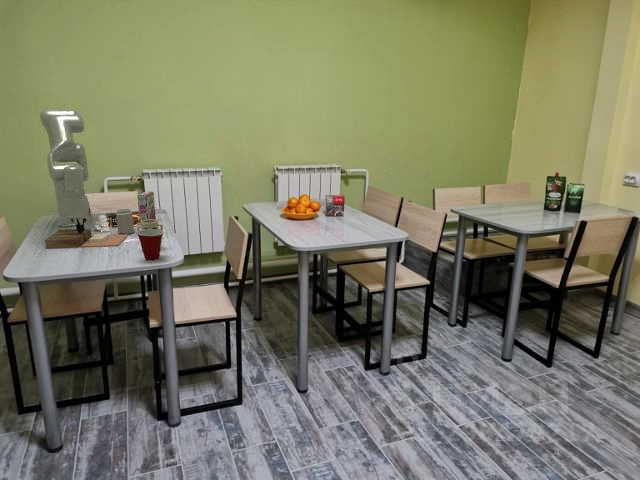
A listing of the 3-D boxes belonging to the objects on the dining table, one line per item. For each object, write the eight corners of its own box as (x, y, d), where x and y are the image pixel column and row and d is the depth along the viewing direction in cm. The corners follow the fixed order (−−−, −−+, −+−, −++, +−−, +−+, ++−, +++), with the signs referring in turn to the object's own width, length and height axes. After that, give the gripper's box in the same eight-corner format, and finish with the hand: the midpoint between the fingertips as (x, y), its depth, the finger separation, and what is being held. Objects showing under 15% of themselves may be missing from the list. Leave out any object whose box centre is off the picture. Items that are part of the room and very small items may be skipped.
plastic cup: (169, 259, 201) (167, 232, 198) (143, 264, 195) (140, 236, 192) (161, 253, 209) (159, 226, 206) (136, 257, 204) (133, 230, 200)
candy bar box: (149, 225, 255) (146, 195, 251) (139, 225, 256) (136, 194, 251) (156, 220, 266) (154, 191, 262) (147, 220, 266) (145, 191, 262)
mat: (93, 236, 234) (93, 235, 234) (128, 235, 236) (127, 234, 236) (81, 247, 217) (81, 246, 216) (118, 246, 219) (118, 244, 219)
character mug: (139, 252, 210) (136, 223, 206) (139, 247, 216) (136, 220, 213) (165, 249, 214) (162, 221, 210) (164, 245, 220) (161, 218, 217)
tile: (108, 233, 229) (109, 237, 230) (95, 234, 229) (96, 238, 229) (102, 239, 221) (103, 243, 221) (88, 239, 220) (89, 243, 221)
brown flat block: (61, 237, 232) (60, 229, 231) (91, 236, 234) (90, 228, 232) (46, 248, 215) (44, 240, 213) (79, 247, 216) (77, 239, 215)
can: (127, 235, 236) (124, 211, 232) (114, 234, 238) (112, 210, 235) (137, 231, 243) (135, 208, 239) (125, 230, 245) (122, 207, 242)
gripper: (54, 195, 214) (60, 234, 219) (90, 194, 216) (95, 234, 221) (61, 192, 221) (67, 230, 226) (95, 191, 223) (100, 229, 228)
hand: (80, 232), depth 223 cm, fingers closed
